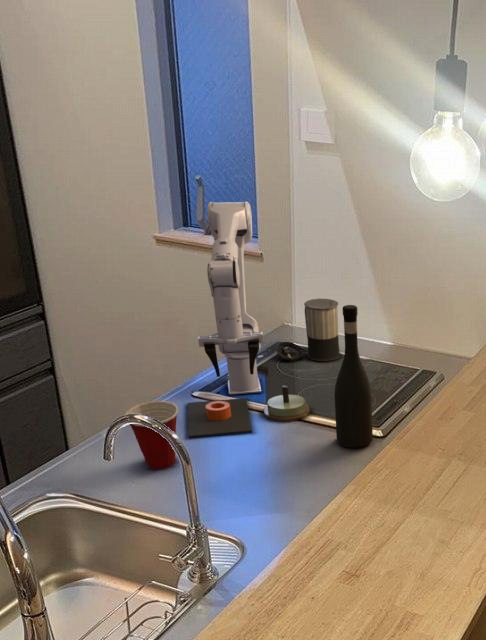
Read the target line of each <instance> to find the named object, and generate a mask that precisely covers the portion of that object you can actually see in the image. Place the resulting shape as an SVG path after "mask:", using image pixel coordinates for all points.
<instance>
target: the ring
mask: <svg viewBox="0 0 486 640" xmlns="http://www.w3.org/2000/svg"><path fill="white" fill-rule="evenodd" d="M215 401H216V400H215ZM205 408H206V415H207V418H208V419H209V420H213V421H220V420H225V419H228V418H230V417H231V411H230V404H229V403H228V402H224V401H216V402H211V403H208V404H207V405H206V406H205Z"/></svg>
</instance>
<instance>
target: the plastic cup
mask: <svg viewBox="0 0 486 640" xmlns="http://www.w3.org/2000/svg"><path fill="white" fill-rule="evenodd" d="M136 412H137V413H140V414H142V415H145V416H148V417H151V418H154V419H156V420H159V421H160V422H162V423H163V424H165V425H166V426H167V427H169V428H170V429H171V430H172V431H174V432H175V433H176V434H177V416H178V414H179V406H178V405H177V404H175V403H173V402H171V401H168V400H151V401H146V402H145V401H144V402H142V403H139V404H136V405H134V406H133V407H130V408H129V409H128V410H127V411H125V413H124V417H125V416H126V415H128V414H131V413H136ZM129 426H130V428H131V430H132V431H133V434H134V437H135V439H136V441H137V444H138V446H139V449H140V451H141V454H142V456H143V458H144V461H145V463H146V465H147V467H149V468H150V469H153V470H164V469H167V468H170V467H172V466H174V464H175V463H176V451H175V452H174V450H173V449H172V447H171V445H170V444H169V442H168V441H167V440H166V439H165V438H163V437H162V436H161V435H160V434H159V433H157V432H155V431H154V430H152V429H150V428H147V427H145V426H142V425H139V424H129Z"/></svg>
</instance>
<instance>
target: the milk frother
mask: <svg viewBox="0 0 486 640" xmlns="http://www.w3.org/2000/svg"><path fill="white" fill-rule="evenodd" d="M303 305H304V318H305V330H306V338H307V350H306V349H304V348H303V347H301V346H300V345H298V344H296V343H294V342H291V341H283V342H281V343H279V344H278V346H277V348H276V354H277V356H278V357H279V358H280V359H282V360H284V361H290V362H291V361H298V360H299V359H301V358H302V357H303V352H305V353H307V355H306V357H307V359H309V360H312V361H315V362H332V361H335V360H337V359H339V358H340V357H341V353H340V343H339V342H340V341H339V340H340V339H339V316H338V315H339V311H338V306H339V302H338V301H337V300H334V299H331V298H312V299H308V300H306V301H304V304H303ZM287 348H291V349H294V350H295V351H296V352H297V354H296V355H293V356H291V355H292V352H291V351H289V350H288V349H287Z"/></svg>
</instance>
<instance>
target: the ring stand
mask: <svg viewBox="0 0 486 640" xmlns="http://www.w3.org/2000/svg"><path fill="white" fill-rule="evenodd" d="M281 389H282V390H281V391H282V394H280V395H275V396H272V397H271V398H269V399H268V400H267V402H266V406H265V407H264V409H263V415H264V417H265V418H266V419H268V420H271V421H273V422H283V423H287V422H288V423H289V422H296V421H300V420H304V419H306V418H307V417H309V415H310V414H311V407H310V405H308V404H307V403H306V398H304V397H303V396H300V395H297V394H289V385H287V384H286V385H285V384H284V385H282V386H281Z"/></svg>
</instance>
